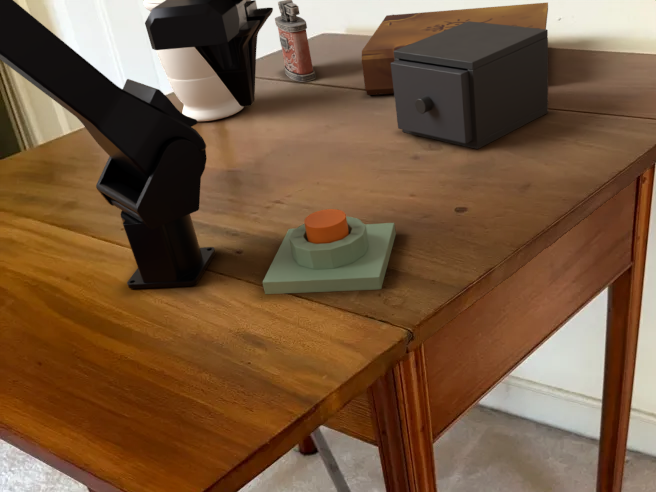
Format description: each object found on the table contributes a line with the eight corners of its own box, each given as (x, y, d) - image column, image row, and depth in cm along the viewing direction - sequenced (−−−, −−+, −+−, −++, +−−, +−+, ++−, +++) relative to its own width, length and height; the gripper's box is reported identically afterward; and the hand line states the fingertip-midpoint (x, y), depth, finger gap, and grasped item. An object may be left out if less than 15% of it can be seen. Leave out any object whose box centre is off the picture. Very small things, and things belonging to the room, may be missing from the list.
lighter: (280, 71, 123) (266, -1, 117) (301, 66, 124) (288, -6, 118) (298, 83, 117) (284, 7, 111) (320, 77, 118) (307, 2, 112)
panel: (381, 289, 68) (376, 257, 66) (265, 294, 69) (257, 262, 68) (396, 234, 75) (392, 203, 74) (291, 240, 77) (284, 210, 75)
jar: (264, 98, 114) (239, -22, 105) (233, 124, 106) (203, -2, 97) (196, 100, 117) (166, -16, 108) (161, 126, 109) (126, 4, 100)
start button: (345, 245, 69) (341, 226, 68) (303, 247, 70) (300, 228, 69) (352, 226, 72) (349, 207, 71) (312, 228, 73) (308, 210, 72)
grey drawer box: (477, 149, 89) (472, 62, 84) (402, 132, 97) (393, 50, 91) (548, 112, 96) (547, 29, 90) (472, 98, 103) (468, 20, 97)
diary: (366, 98, 108) (360, 52, 105) (391, 57, 122) (386, 15, 119) (544, 86, 103) (543, 37, 100) (548, 44, 118) (548, 0, 114)
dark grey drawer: (458, 147, 88) (453, 77, 84) (390, 132, 94) (382, 66, 90) (531, 110, 94) (530, 43, 90) (463, 97, 101) (459, 34, 96)
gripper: (265, -94, 55) (308, 138, 64) (329, -128, 69) (357, 66, 78) (113, -75, 57) (176, 146, 66) (205, -112, 71) (247, 75, 81)
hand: (247, 104), depth 73 cm, fingers closed
